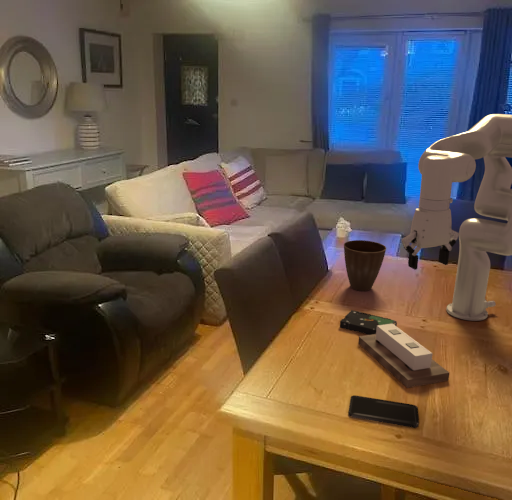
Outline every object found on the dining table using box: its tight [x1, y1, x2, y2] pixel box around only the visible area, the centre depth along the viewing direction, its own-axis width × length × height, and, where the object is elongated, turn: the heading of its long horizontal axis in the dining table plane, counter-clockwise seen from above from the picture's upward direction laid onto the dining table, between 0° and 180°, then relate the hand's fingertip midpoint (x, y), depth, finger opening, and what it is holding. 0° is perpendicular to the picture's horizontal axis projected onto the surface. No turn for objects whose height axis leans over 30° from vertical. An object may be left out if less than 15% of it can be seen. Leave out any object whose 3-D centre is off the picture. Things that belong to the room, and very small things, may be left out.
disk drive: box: [339, 309, 398, 335], centre depth 157 cm, size 10×3×15 cm
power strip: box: [376, 323, 434, 371], centre depth 137 cm, size 5×18×7 cm, turn 19°
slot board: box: [358, 334, 450, 389], centre depth 137 cm, size 24×12×2 cm, turn 18°
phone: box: [348, 395, 420, 429], centre depth 115 cm, size 8×1×15 cm
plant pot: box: [343, 239, 387, 292], centre depth 187 cm, size 15×15×16 cm
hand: (427, 265), depth 139 cm, fingers open, 9 cm apart
